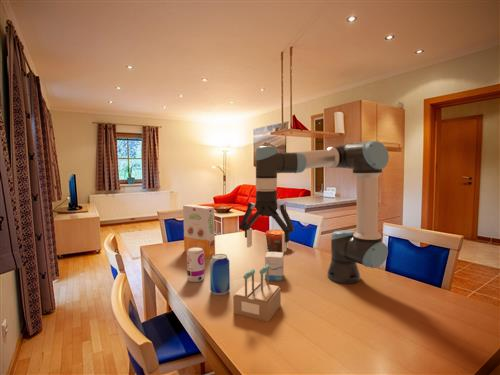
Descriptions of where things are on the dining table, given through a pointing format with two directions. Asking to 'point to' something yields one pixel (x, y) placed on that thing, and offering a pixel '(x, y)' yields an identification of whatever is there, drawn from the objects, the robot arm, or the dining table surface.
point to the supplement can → (195, 264)
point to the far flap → (248, 285)
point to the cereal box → (199, 228)
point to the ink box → (274, 265)
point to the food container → (274, 239)
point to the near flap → (268, 289)
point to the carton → (257, 305)
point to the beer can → (219, 274)
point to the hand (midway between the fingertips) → (266, 248)
